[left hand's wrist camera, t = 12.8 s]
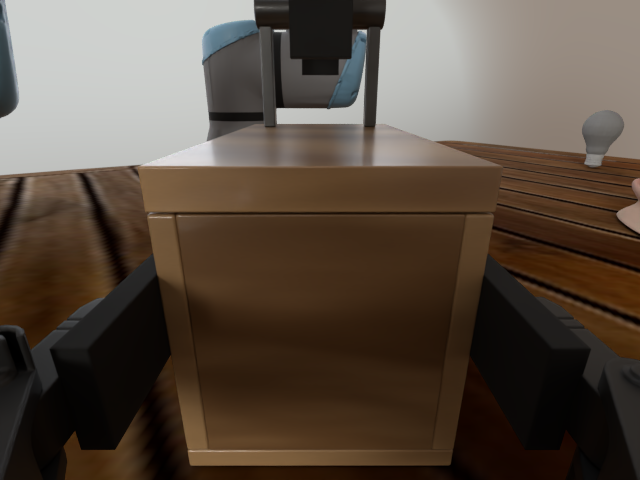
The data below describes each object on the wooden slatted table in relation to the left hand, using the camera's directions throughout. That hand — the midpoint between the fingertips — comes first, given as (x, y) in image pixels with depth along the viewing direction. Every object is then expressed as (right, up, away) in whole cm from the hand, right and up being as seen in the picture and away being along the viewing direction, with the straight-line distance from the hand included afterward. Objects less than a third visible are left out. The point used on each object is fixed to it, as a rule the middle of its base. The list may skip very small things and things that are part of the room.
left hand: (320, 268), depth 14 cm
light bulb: (+51, +15, +55) cm, 77 cm away
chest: (0, -4, +7) cm, 8 cm away
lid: (0, +5, +4) cm, 6 cm away
